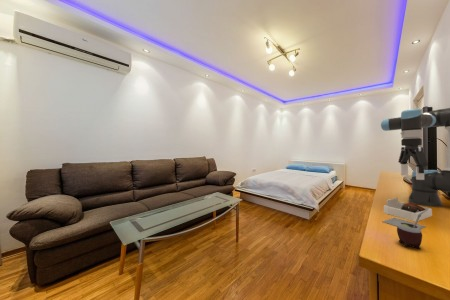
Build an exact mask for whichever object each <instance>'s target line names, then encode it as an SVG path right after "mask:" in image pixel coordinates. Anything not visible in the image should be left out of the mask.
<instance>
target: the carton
mask: <svg viewBox="0 0 450 300" xmlns="http://www.w3.org/2000/svg"><path fill="white" fill-rule="evenodd" d="M405 203H406V202H403V201H402V202H401V201H399V198H398V197H394V198H390V199H386V205H383V214H387V215H390V216H393V217H394V216H395V217H396V218H397V217H398V218H400V219H403V220H407V221H412V222H413V221H414V222H416V219H417V217H418V214H420V213H421V212H423V211H421V212H420V211H418V210H417V212H416V213H413V212H409V211H405V210H401V208H402V206H403V205H404V204H405ZM421 207H422V208H424V209H425V210H427V211H426V212H424V213H423V214H422V215H421V217H420V218H419V220H418V222H419V221H422V220H425V219H427V218H430V217H433V208H430V207H427V206H425V207H424V206H421ZM408 208H409V207H408ZM425 210H424V211H425Z"/></svg>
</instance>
